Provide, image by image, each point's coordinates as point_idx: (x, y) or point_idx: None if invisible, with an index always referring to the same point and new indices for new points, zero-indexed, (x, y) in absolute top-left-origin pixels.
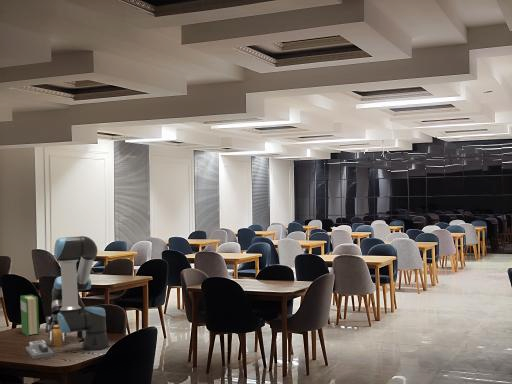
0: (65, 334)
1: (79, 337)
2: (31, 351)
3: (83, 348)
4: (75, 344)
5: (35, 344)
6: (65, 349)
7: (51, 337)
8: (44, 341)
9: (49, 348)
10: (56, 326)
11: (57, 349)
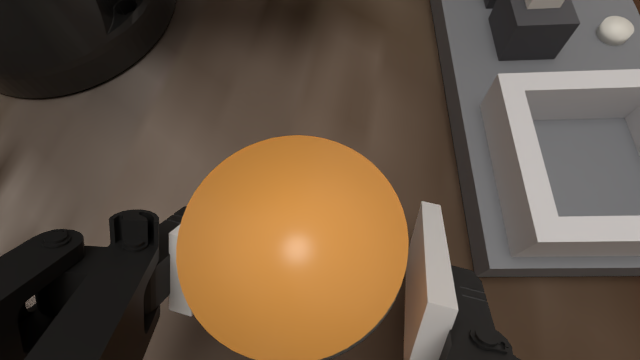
0: None
1: None
2: (621, 8)
3: (173, 2)
4: None
5: (625, 72)
6: (298, 72)
7: (421, 228)
8: (519, 148)
9: (449, 31)
10: (330, 148)
11: (362, 110)
